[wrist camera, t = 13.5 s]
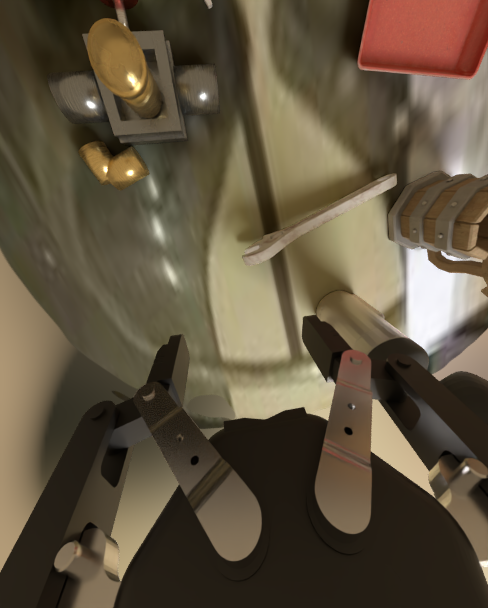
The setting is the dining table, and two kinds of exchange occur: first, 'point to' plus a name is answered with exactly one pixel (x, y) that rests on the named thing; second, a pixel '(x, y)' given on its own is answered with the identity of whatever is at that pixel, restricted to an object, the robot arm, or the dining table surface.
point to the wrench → (314, 221)
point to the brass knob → (123, 66)
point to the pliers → (208, 3)
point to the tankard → (445, 221)
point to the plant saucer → (425, 37)
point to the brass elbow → (114, 165)
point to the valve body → (124, 121)
